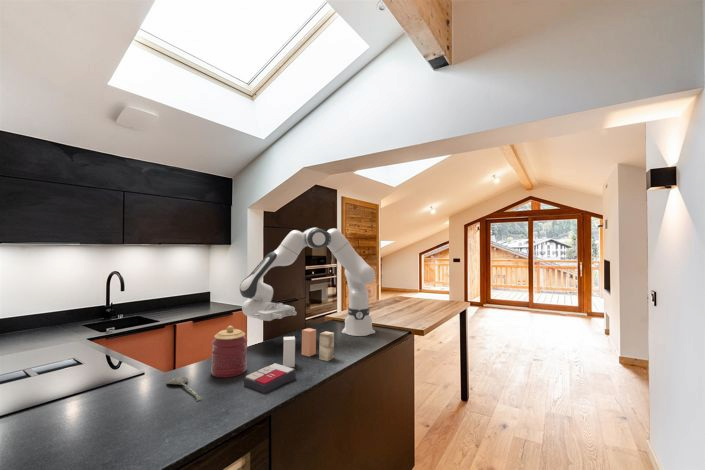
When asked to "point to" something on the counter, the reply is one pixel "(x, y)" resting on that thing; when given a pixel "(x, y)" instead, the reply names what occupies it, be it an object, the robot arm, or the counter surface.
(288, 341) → the grey block
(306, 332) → the terracotta block
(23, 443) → the counter surface
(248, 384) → the flat patterned box
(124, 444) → the counter surface
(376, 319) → the counter surface
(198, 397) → the grey axe
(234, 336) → the canister
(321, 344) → the ash block
